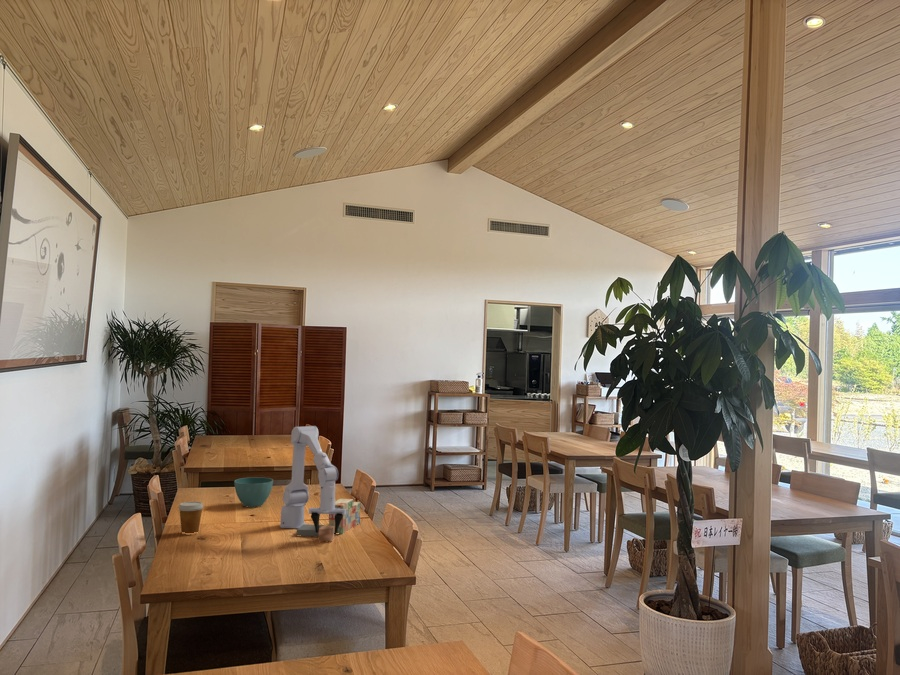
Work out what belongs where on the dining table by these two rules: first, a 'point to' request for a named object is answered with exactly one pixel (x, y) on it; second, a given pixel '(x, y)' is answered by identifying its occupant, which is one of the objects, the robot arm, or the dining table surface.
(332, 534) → the terracotta cube
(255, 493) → the teal bowl
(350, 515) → the stack of blocks
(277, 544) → the dining table surface
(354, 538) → the dining table surface
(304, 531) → the charcoal slab
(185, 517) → the disposable coffee cup
